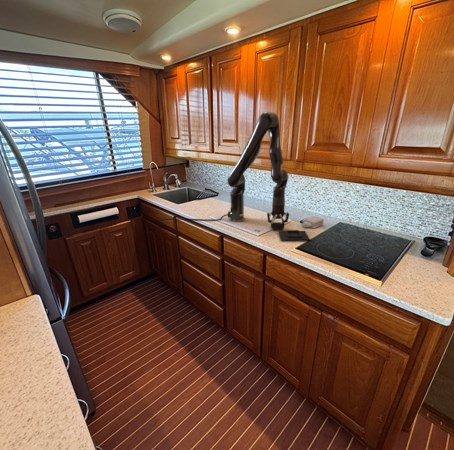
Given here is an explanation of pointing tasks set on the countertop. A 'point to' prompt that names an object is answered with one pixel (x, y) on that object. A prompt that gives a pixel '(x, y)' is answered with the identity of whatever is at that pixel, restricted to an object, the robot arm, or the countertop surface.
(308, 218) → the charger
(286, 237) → the base pad
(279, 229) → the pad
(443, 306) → the countertop surface
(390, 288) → the countertop surface
